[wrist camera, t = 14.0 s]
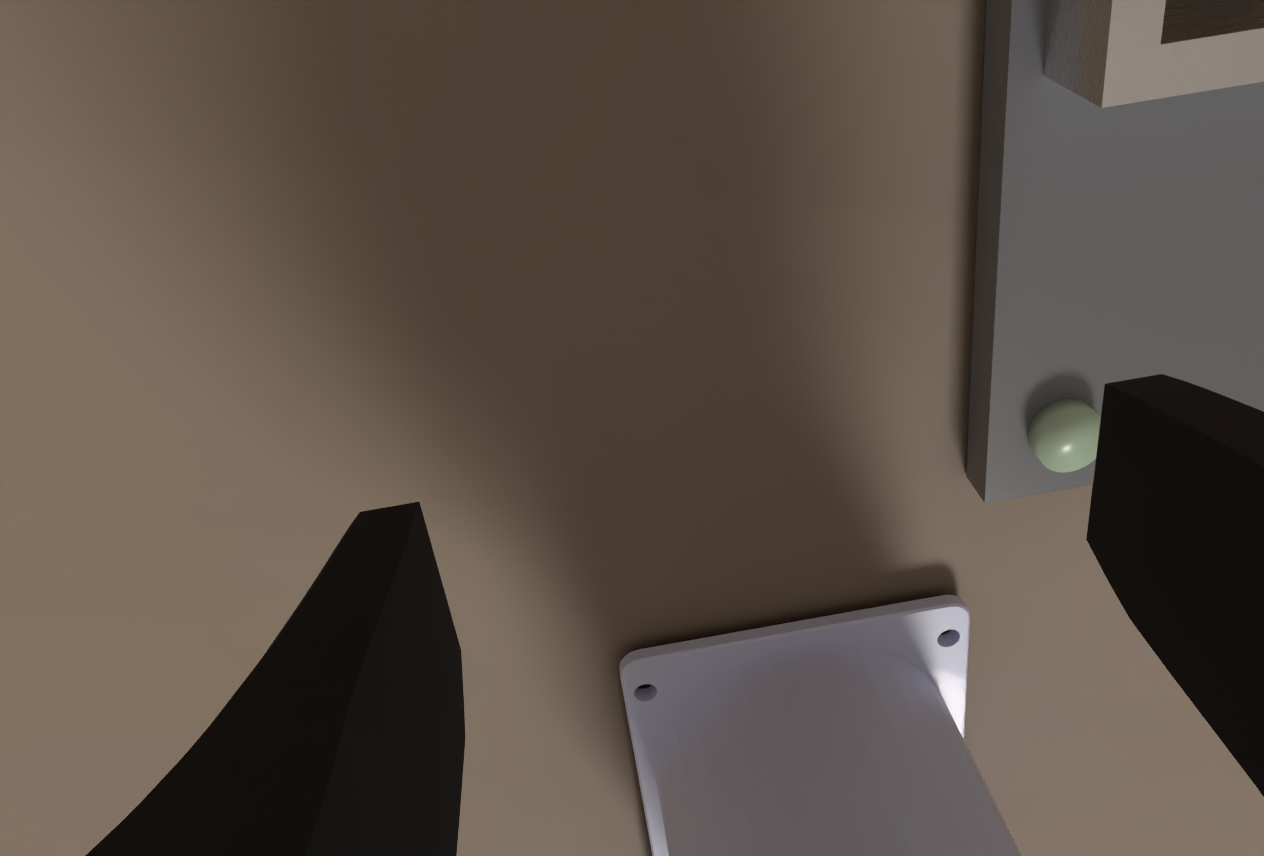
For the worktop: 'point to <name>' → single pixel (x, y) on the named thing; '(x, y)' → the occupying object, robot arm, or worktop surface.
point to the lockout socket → (1152, 47)
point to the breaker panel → (1103, 256)
